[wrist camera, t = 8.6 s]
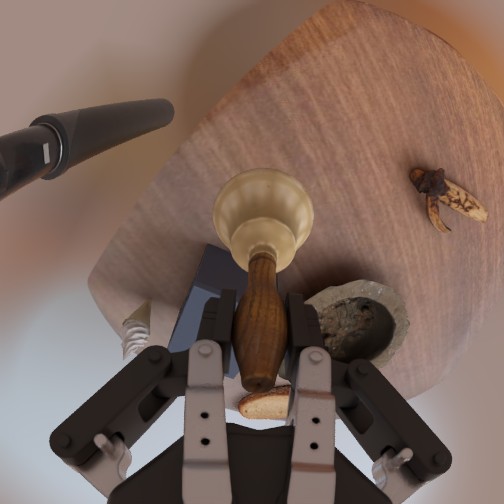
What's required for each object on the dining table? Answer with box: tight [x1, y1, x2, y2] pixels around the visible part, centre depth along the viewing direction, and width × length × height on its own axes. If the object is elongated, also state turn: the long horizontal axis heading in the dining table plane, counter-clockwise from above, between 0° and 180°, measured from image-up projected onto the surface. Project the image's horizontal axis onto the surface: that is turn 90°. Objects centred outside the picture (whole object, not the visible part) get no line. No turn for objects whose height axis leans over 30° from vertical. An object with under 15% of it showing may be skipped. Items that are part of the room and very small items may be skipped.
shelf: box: [167, 244, 278, 379], centre depth 46 cm, size 12×16×11 cm
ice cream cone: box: [120, 298, 151, 359], centre depth 46 cm, size 5×5×15 cm
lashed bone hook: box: [410, 168, 488, 233], centre depth 38 cm, size 9×5×18 cm
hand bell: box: [213, 168, 314, 393], centre depth 17 cm, size 8×8×16 cm
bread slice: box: [238, 386, 291, 419], centre depth 66 cm, size 18×18×4 cm
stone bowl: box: [278, 279, 410, 383], centre depth 49 cm, size 25×25×9 cm
